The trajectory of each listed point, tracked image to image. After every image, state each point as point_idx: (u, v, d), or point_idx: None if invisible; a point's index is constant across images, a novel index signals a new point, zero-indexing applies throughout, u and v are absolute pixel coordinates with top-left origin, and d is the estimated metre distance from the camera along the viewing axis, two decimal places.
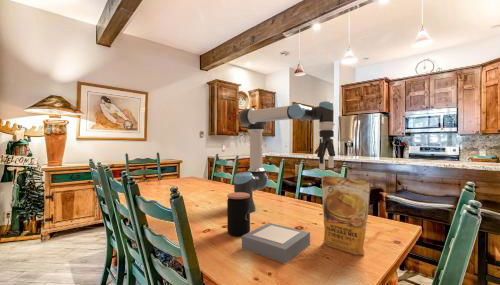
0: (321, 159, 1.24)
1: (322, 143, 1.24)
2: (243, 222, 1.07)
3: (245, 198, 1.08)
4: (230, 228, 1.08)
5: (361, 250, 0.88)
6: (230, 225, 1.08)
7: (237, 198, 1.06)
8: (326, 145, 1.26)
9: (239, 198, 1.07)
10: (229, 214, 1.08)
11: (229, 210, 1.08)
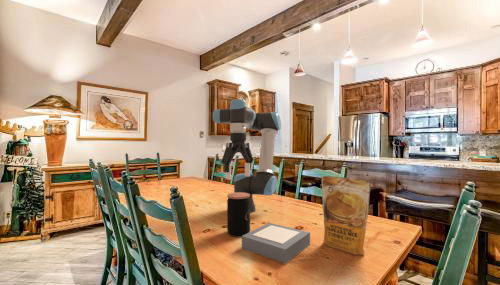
0: (226, 167, 1.05)
1: (228, 148, 1.06)
2: (243, 222, 1.07)
3: (245, 198, 1.08)
4: (230, 228, 1.08)
5: (361, 250, 0.88)
6: (230, 225, 1.08)
7: (237, 198, 1.06)
8: (235, 150, 1.08)
9: (239, 198, 1.07)
10: (229, 214, 1.08)
11: (229, 210, 1.08)
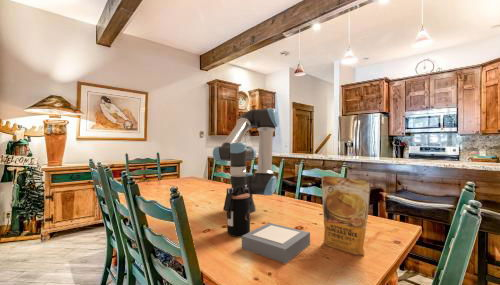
0: (228, 214, 1.06)
1: (229, 194, 1.06)
2: (243, 222, 1.07)
3: (245, 198, 1.08)
4: (230, 228, 1.08)
5: (361, 250, 0.88)
6: None
7: (237, 198, 1.06)
8: (235, 195, 1.08)
9: (239, 198, 1.07)
10: None
11: None
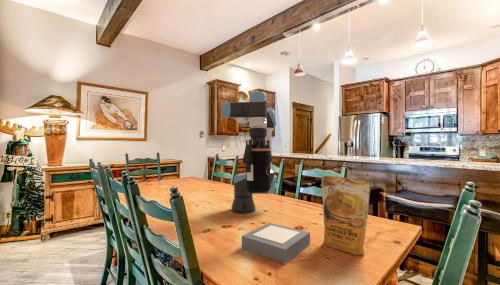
0: (248, 167, 0.97)
1: (248, 146, 0.97)
2: (264, 176, 0.98)
3: (266, 151, 0.99)
4: (249, 183, 0.99)
5: (361, 250, 0.88)
6: None
7: (257, 150, 0.98)
8: (255, 148, 0.99)
9: (259, 150, 0.98)
10: None
11: None
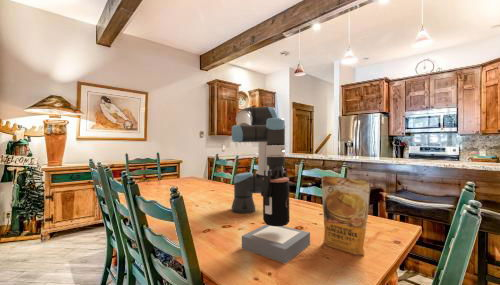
0: (266, 200, 0.91)
1: (267, 177, 0.91)
2: (283, 209, 0.92)
3: (285, 182, 0.93)
4: (268, 216, 0.92)
5: (361, 250, 0.88)
6: None
7: (276, 181, 0.91)
8: (274, 178, 0.93)
9: (279, 181, 0.91)
10: None
11: None
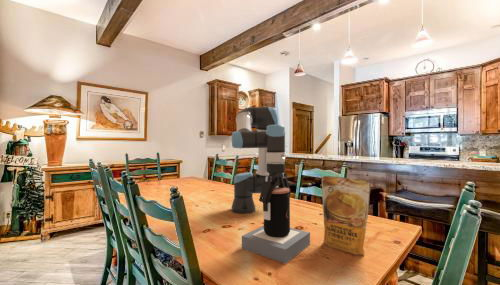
0: (265, 205, 0.90)
1: (267, 183, 0.91)
2: (284, 221, 0.92)
3: (286, 193, 0.93)
4: (268, 227, 0.93)
5: (361, 250, 0.88)
6: (268, 224, 0.93)
7: (277, 193, 0.92)
8: (273, 185, 0.93)
9: (279, 193, 0.92)
10: None
11: None
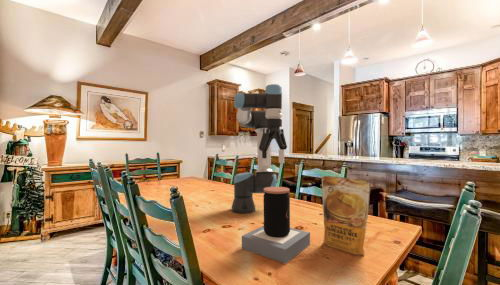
0: (264, 153, 1.04)
1: (265, 134, 1.05)
2: (284, 221, 0.92)
3: (286, 193, 0.93)
4: (268, 227, 0.93)
5: (361, 250, 0.88)
6: (268, 224, 0.93)
7: (277, 193, 0.92)
8: (271, 136, 1.07)
9: (279, 193, 0.92)
10: (267, 211, 0.93)
11: (267, 207, 0.93)
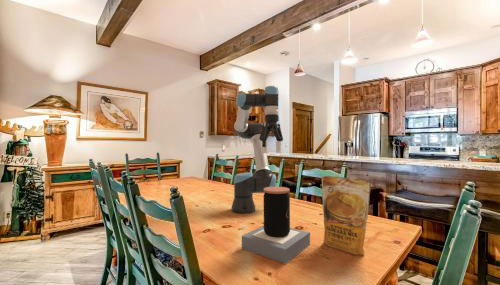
0: (263, 142, 1.24)
1: (265, 127, 1.25)
2: (284, 221, 0.92)
3: (286, 193, 0.93)
4: (268, 227, 0.93)
5: (361, 250, 0.88)
6: (268, 224, 0.93)
7: (277, 193, 0.92)
8: (270, 129, 1.27)
9: (279, 193, 0.92)
10: (267, 211, 0.93)
11: (267, 207, 0.93)
